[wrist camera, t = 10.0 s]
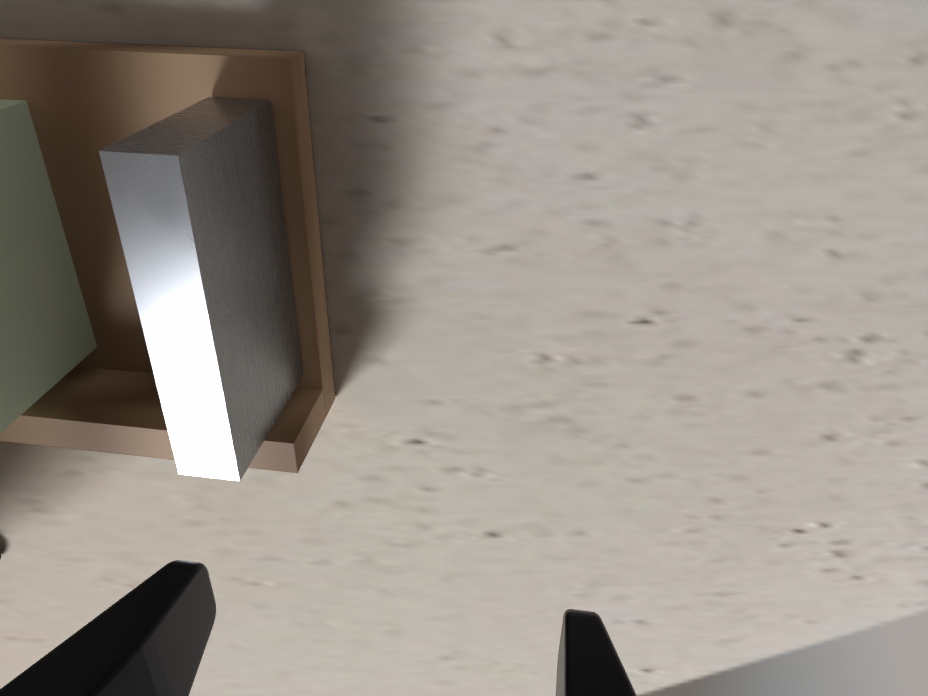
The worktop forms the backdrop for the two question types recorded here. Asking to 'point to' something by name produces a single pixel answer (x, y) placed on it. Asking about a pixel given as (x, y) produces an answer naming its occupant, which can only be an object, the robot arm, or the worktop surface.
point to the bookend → (210, 276)
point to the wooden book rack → (99, 245)
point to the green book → (33, 274)
